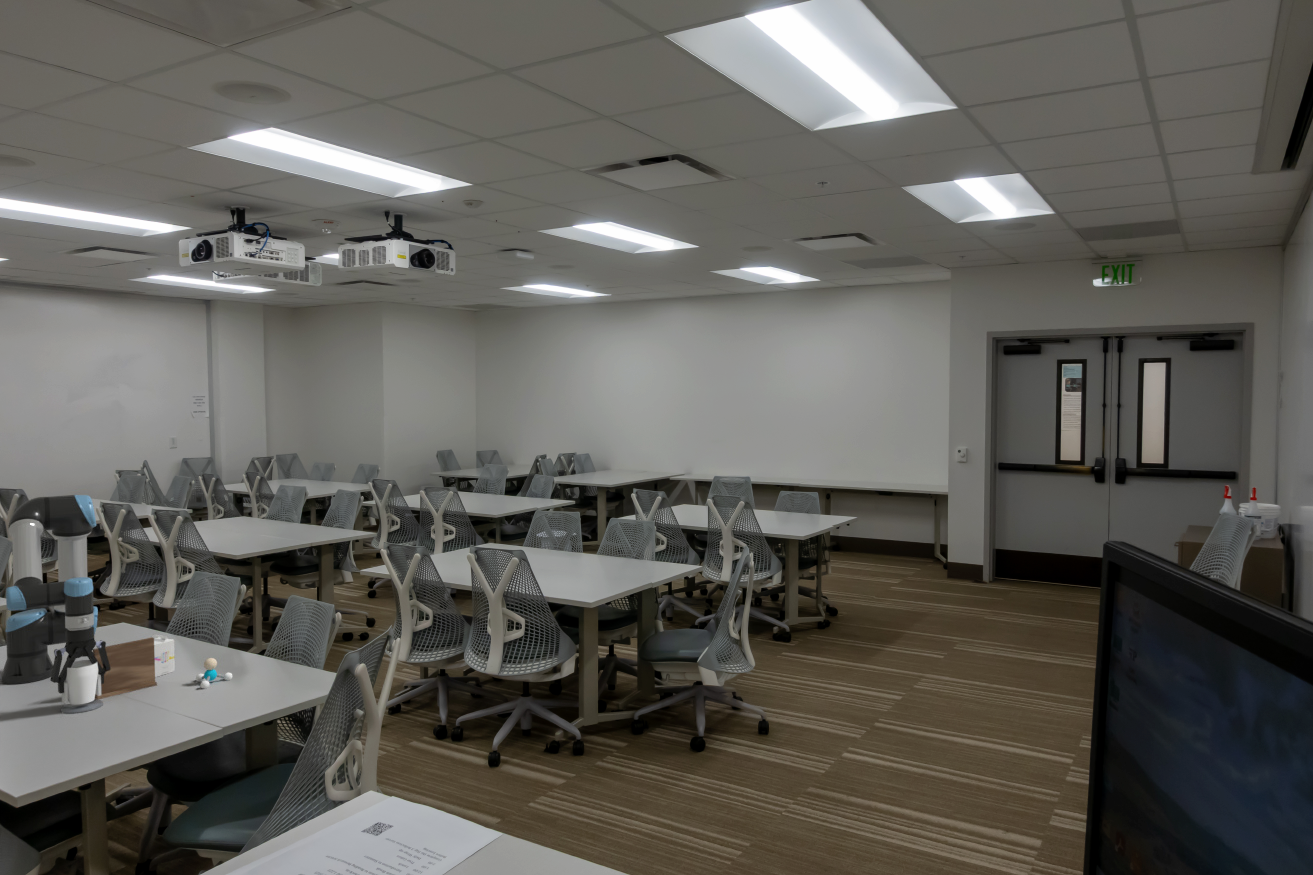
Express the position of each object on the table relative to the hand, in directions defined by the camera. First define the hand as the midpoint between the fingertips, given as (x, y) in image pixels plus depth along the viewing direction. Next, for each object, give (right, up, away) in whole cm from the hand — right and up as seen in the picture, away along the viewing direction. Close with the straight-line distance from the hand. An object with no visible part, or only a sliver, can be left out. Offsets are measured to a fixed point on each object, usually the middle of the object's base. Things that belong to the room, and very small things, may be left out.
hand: (81, 698), depth 272 cm
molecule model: (+28, -2, +25) cm, 38 cm away
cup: (0, -1, 0) cm, 1 cm away
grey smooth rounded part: (0, -3, 0) cm, 3 cm away
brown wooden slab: (+4, -2, +16) cm, 17 cm away
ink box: (+3, -2, +35) cm, 36 cm away
